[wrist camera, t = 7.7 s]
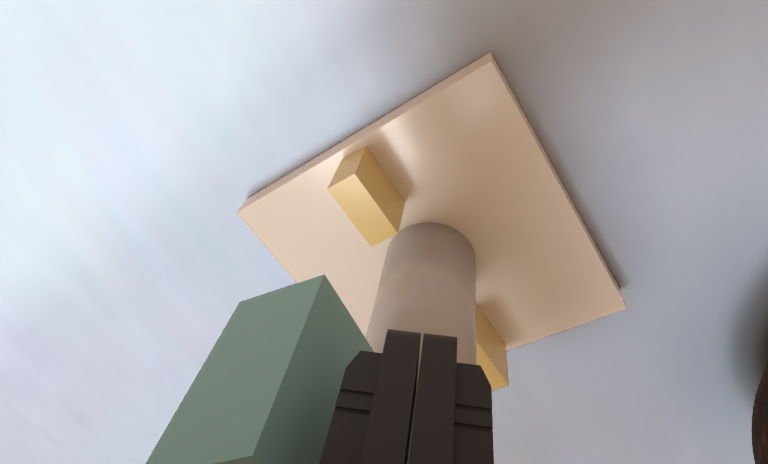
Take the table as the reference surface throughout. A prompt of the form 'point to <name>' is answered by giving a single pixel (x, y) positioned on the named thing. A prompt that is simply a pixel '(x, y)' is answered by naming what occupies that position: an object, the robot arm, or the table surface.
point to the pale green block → (267, 382)
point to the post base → (455, 187)
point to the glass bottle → (761, 422)
